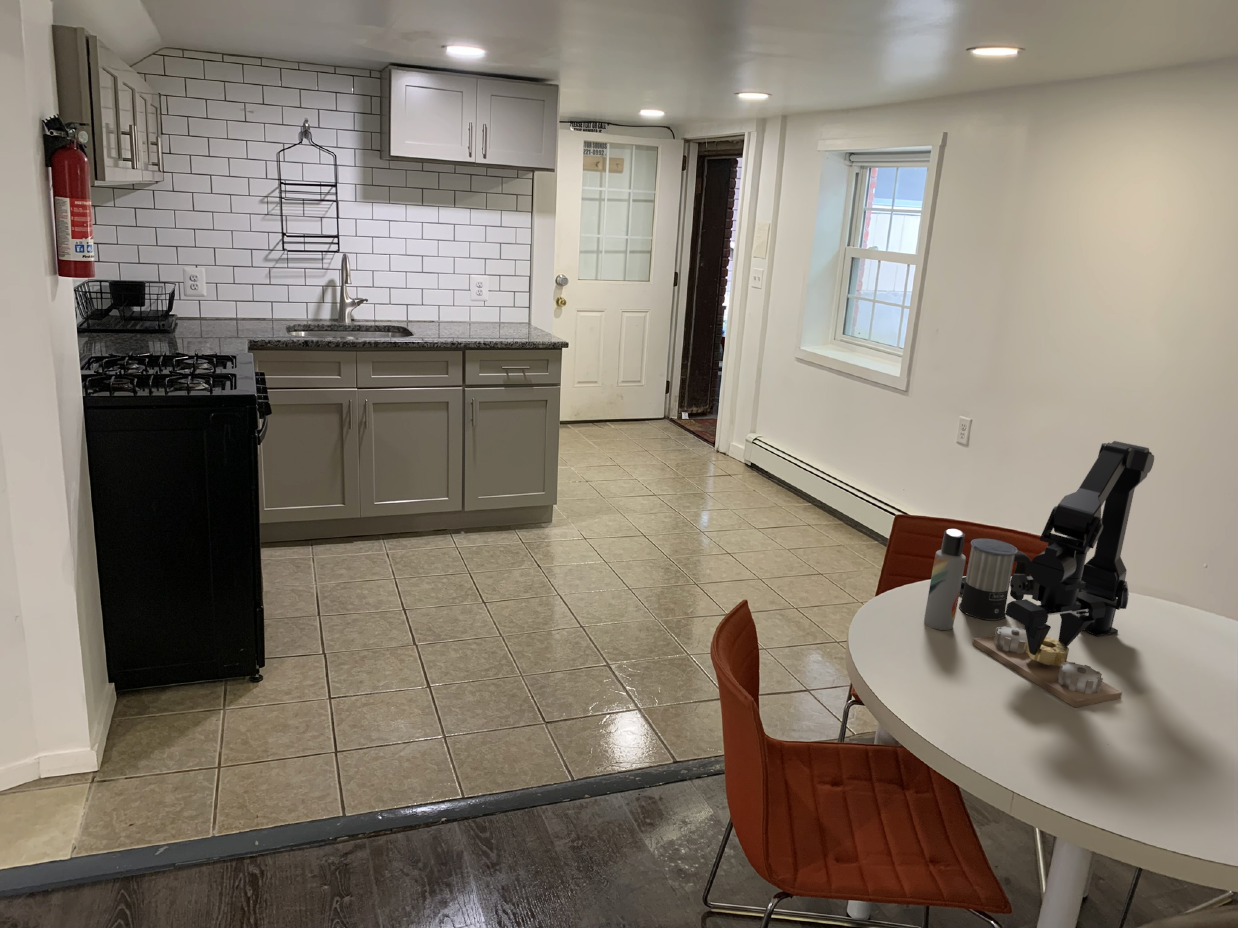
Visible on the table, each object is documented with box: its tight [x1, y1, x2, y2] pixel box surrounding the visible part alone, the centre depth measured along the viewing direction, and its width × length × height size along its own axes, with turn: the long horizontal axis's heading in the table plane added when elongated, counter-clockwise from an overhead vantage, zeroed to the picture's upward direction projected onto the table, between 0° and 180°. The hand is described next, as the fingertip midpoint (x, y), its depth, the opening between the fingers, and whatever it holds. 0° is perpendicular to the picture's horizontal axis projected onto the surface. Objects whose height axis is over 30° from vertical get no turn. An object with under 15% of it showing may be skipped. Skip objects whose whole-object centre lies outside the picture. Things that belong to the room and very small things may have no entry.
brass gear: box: [1026, 636, 1070, 666], centre depth 168 cm, size 7×7×2 cm
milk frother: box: [958, 537, 1032, 621], centre depth 195 cm, size 14×16×15 cm
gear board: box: [972, 625, 1123, 708], centre depth 169 cm, size 24×11×4 cm, turn 23°
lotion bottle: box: [923, 528, 967, 631], centre depth 183 cm, size 6×6×20 cm
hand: (1046, 651), depth 168 cm, fingers closed on brass gear, 7 cm apart
